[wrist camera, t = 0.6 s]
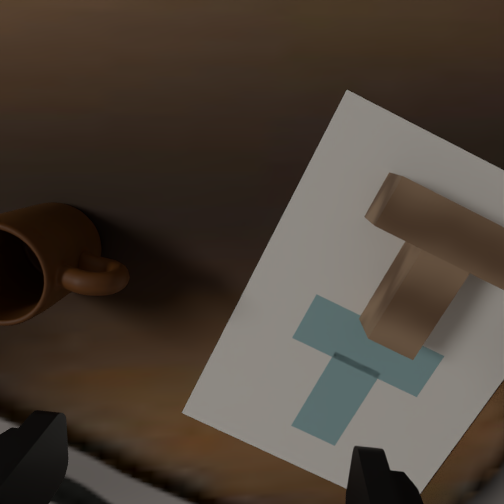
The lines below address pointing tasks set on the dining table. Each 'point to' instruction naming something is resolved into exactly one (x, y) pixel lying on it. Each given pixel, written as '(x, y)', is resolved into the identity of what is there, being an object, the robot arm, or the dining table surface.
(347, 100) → the mat
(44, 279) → the mug
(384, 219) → the t block
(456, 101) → the dining table surface
